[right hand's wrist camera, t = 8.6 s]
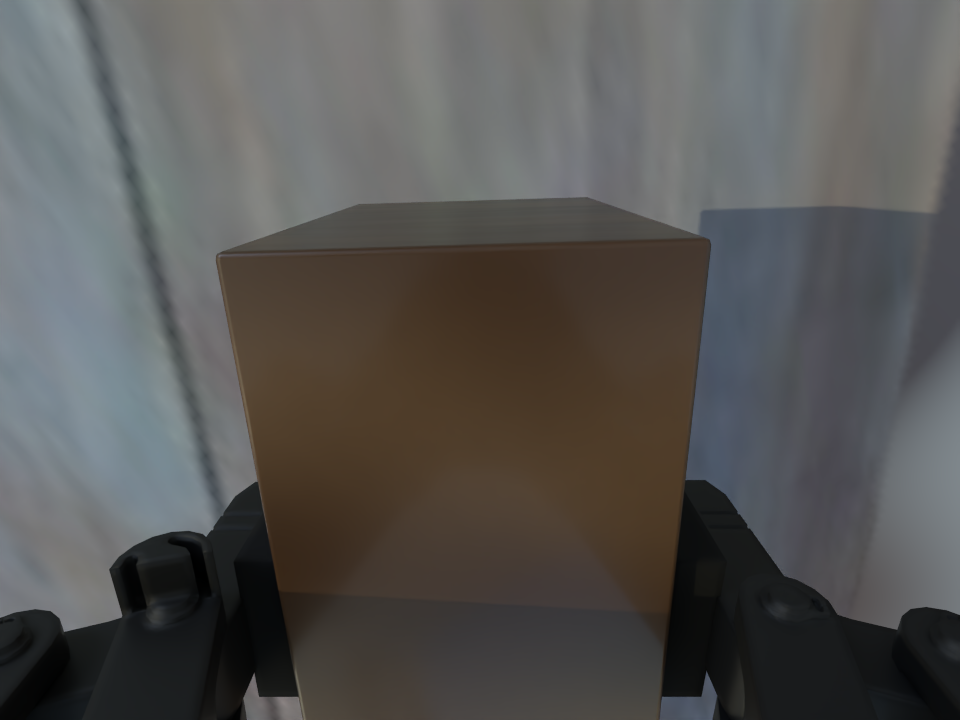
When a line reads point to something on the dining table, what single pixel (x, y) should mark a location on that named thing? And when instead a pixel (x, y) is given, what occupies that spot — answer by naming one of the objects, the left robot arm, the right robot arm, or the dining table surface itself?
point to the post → (472, 451)
